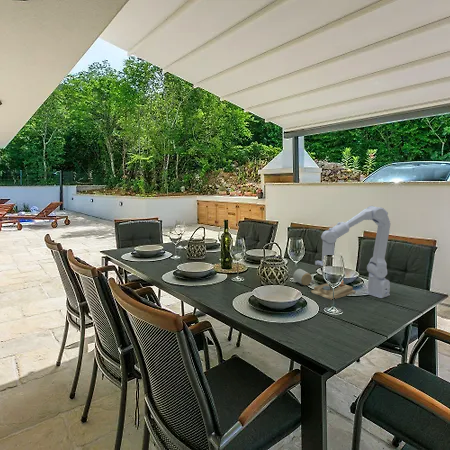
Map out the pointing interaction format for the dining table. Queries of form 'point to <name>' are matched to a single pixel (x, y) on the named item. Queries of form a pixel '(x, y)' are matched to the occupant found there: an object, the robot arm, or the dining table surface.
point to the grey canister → (302, 277)
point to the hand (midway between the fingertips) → (327, 281)
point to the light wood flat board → (329, 294)
